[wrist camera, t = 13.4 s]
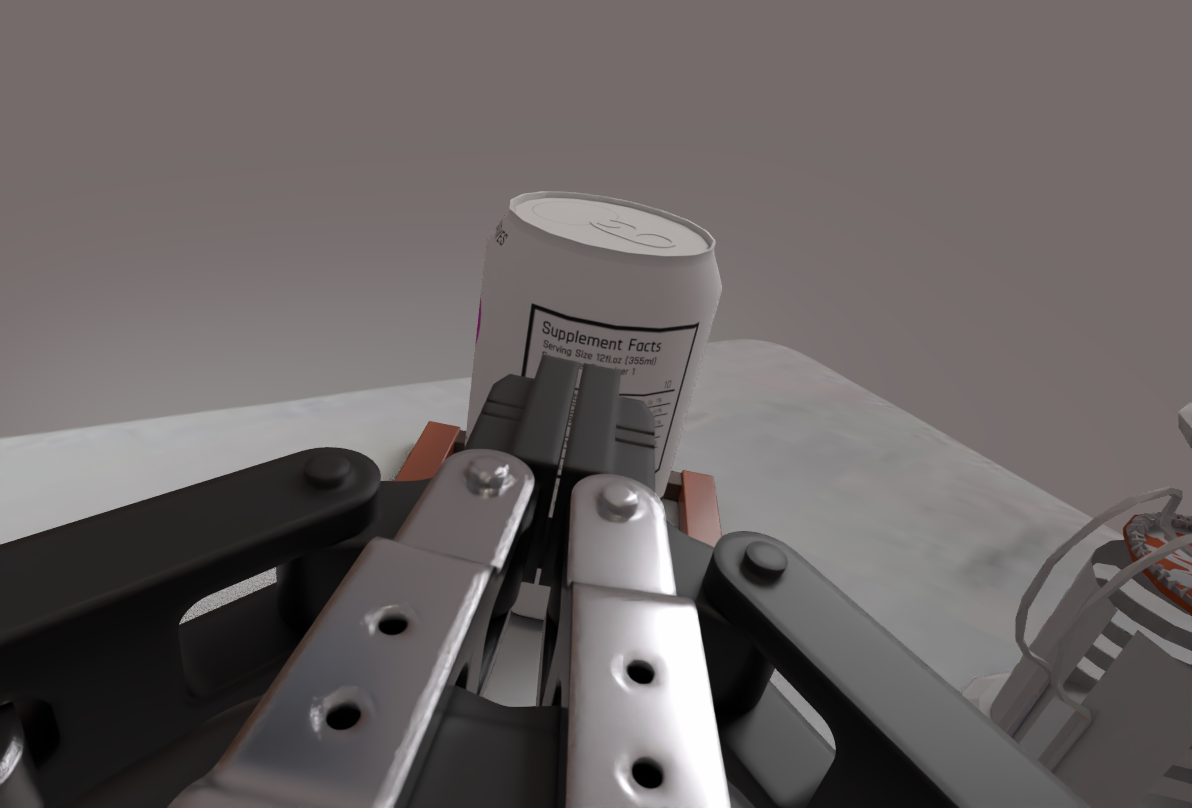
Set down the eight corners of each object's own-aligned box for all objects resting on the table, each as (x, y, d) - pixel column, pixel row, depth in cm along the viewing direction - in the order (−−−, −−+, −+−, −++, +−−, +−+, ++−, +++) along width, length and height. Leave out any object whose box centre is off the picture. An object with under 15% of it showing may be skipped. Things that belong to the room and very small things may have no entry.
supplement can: (410, 558, 29) (436, 196, 22) (535, 481, 35) (586, 180, 28) (565, 669, 25) (654, 281, 18) (672, 561, 32) (770, 241, 25)
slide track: (-35, 1268, 12) (-52, 1248, 11) (427, 439, 37) (428, 420, 36) (820, 1408, 12) (843, 1395, 12) (708, 493, 37) (713, 475, 36)
